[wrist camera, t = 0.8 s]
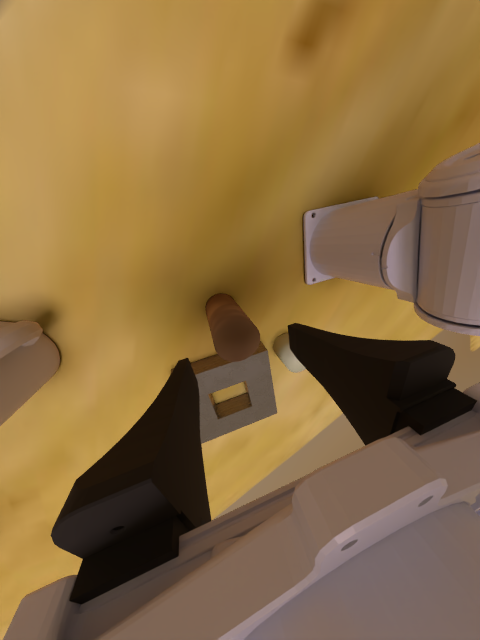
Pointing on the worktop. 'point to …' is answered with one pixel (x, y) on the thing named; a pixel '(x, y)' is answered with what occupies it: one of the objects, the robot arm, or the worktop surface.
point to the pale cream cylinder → (287, 353)
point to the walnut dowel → (231, 329)
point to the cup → (23, 364)
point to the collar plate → (241, 408)
